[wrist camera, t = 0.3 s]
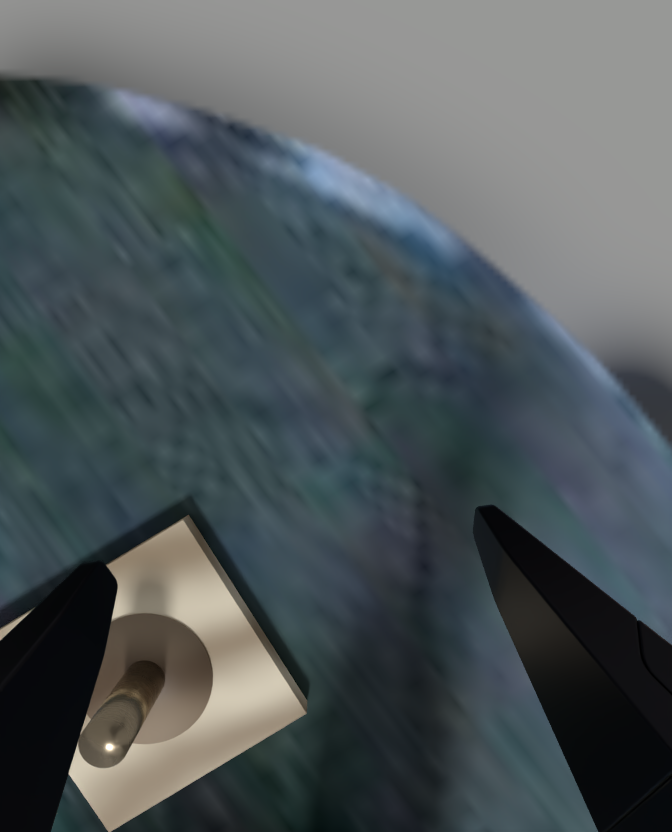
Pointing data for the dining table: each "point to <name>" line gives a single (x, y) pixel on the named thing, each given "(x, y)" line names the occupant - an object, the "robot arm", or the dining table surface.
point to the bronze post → (121, 715)
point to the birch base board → (182, 674)
